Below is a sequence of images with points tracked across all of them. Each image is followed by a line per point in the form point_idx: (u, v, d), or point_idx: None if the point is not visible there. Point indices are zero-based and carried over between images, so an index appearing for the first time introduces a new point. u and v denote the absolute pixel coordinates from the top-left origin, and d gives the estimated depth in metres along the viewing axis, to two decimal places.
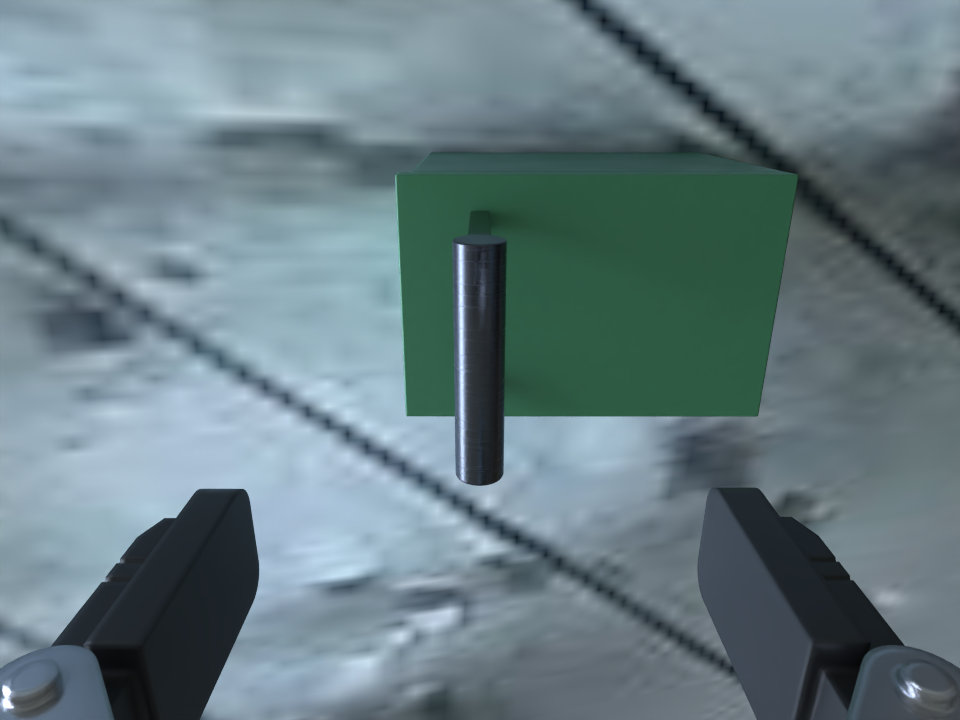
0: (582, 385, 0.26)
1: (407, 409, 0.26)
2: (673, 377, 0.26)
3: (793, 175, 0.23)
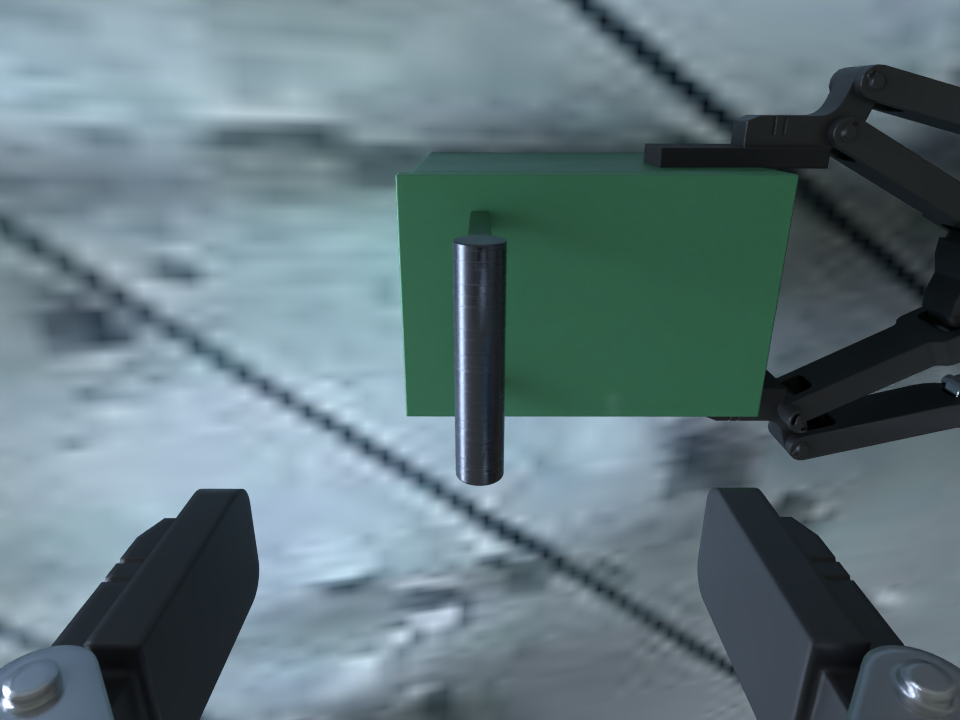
0: (582, 385, 0.26)
1: (407, 409, 0.26)
2: (673, 377, 0.26)
3: (793, 175, 0.23)
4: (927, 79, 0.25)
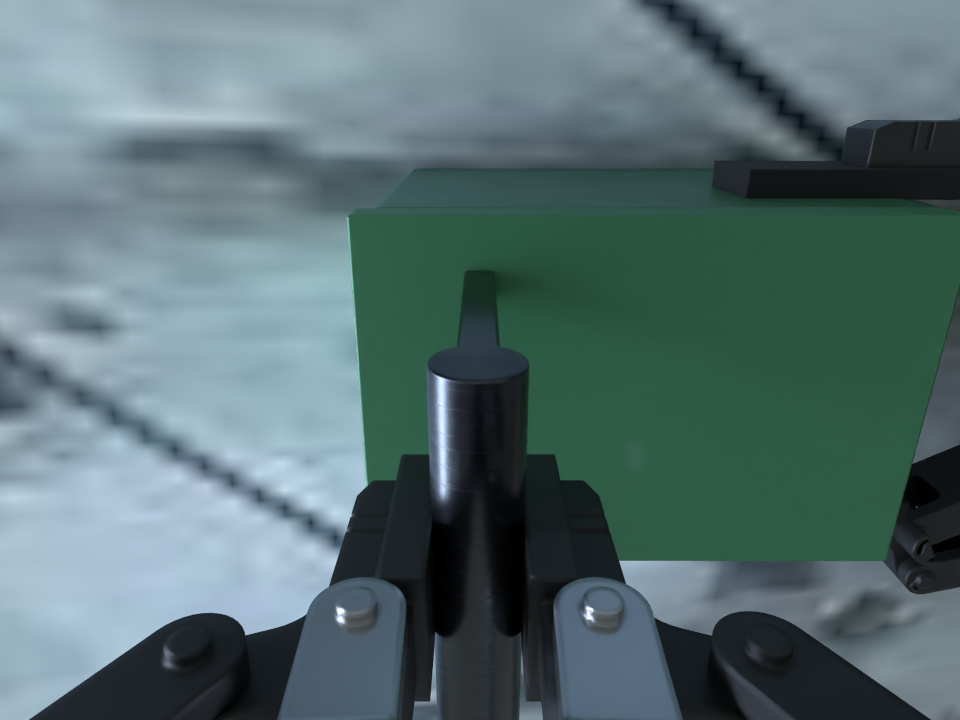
0: (630, 519, 0.18)
1: None
2: (765, 508, 0.17)
3: None
4: None
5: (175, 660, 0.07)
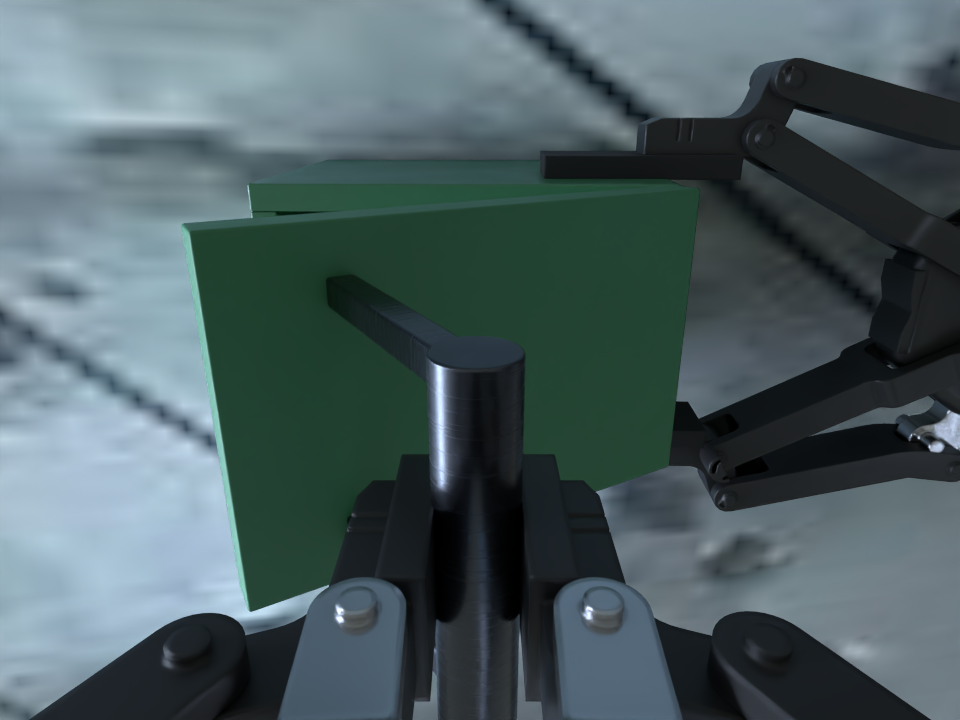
0: None
1: (250, 602, 0.16)
2: (590, 448, 0.20)
3: (695, 189, 0.19)
4: (855, 75, 0.21)
5: (175, 660, 0.07)
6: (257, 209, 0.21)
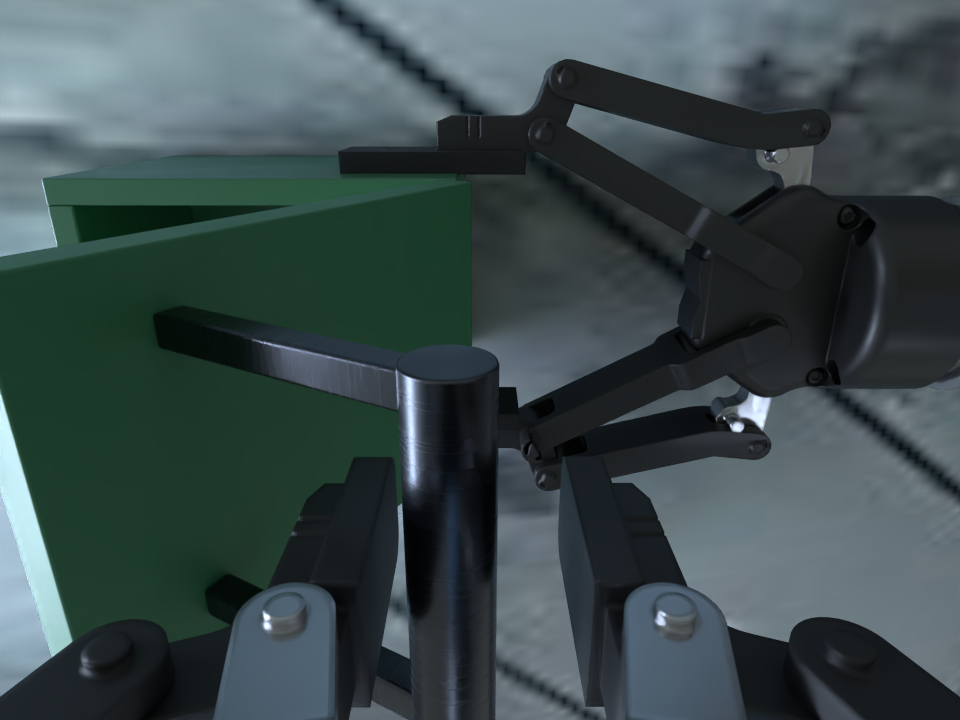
0: None
1: None
2: None
3: (467, 183, 0.21)
4: (622, 76, 0.22)
5: (93, 668, 0.07)
6: (53, 203, 0.22)
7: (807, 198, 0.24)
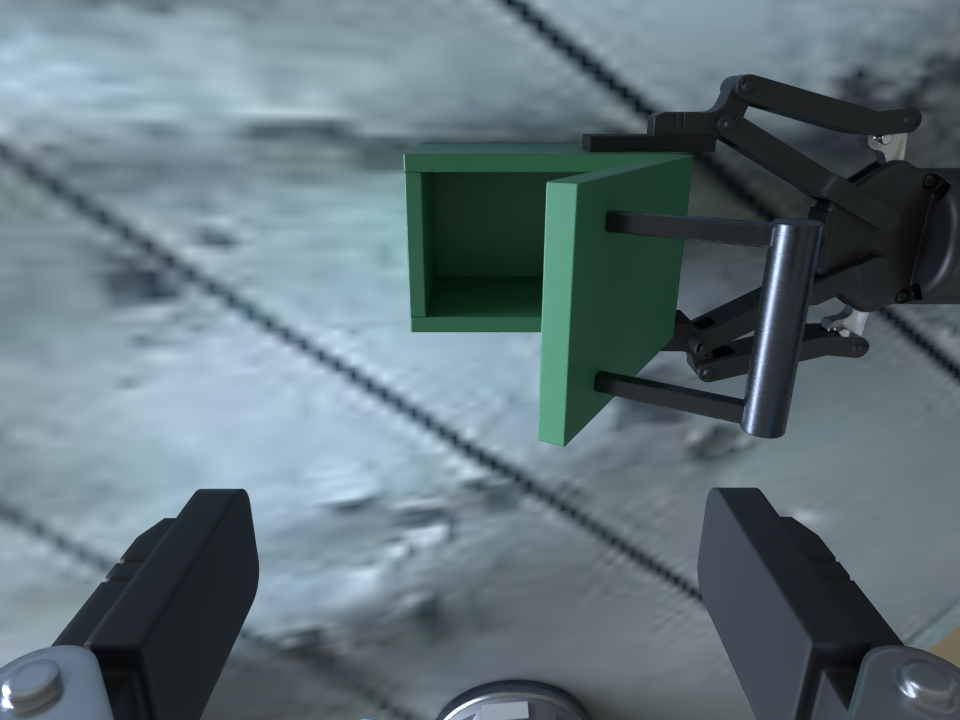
0: (631, 354, 0.29)
1: (566, 439, 0.24)
2: (656, 325, 0.32)
3: (691, 156, 0.32)
4: (785, 85, 0.33)
5: None
6: (409, 170, 0.33)
7: (902, 168, 0.35)
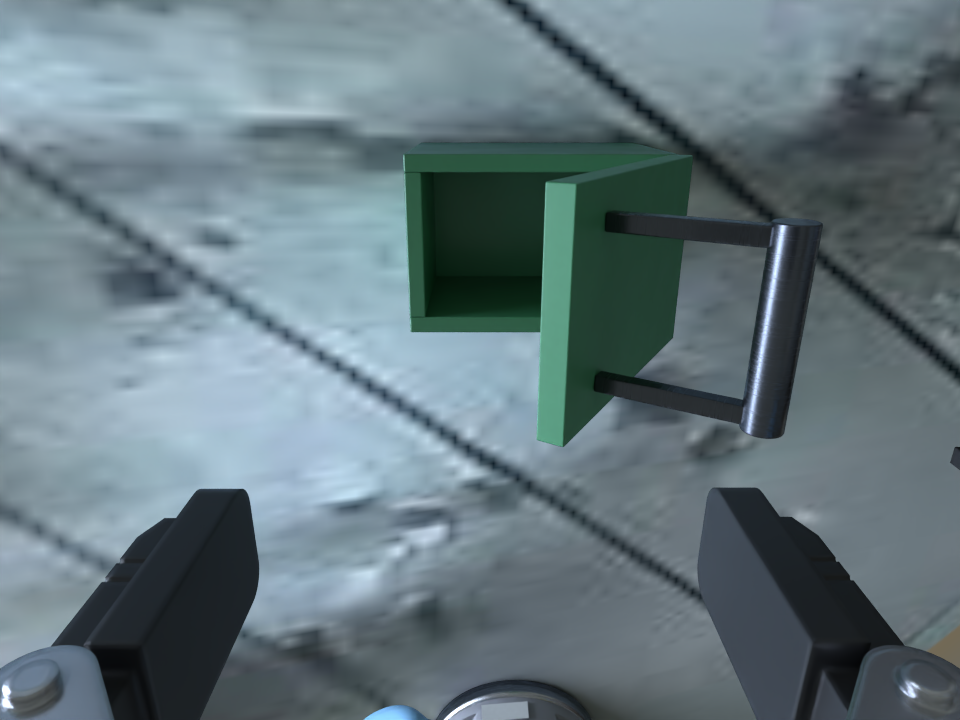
0: (630, 354, 0.29)
1: (565, 439, 0.24)
2: (655, 325, 0.32)
3: (691, 156, 0.32)
4: None
5: None
6: (408, 170, 0.33)
7: None
